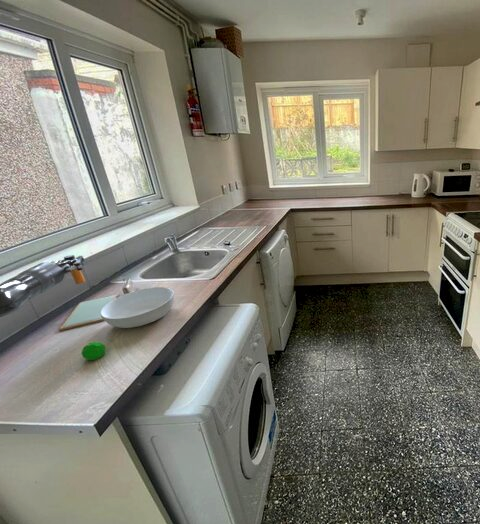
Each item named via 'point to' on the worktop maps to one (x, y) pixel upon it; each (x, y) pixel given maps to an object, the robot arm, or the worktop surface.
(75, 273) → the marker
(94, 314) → the pale green board
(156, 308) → the serving bowl
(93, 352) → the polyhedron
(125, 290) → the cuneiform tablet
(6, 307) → the robot arm
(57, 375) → the worktop surface
